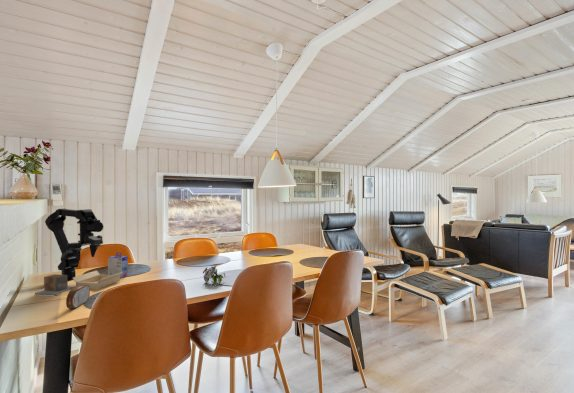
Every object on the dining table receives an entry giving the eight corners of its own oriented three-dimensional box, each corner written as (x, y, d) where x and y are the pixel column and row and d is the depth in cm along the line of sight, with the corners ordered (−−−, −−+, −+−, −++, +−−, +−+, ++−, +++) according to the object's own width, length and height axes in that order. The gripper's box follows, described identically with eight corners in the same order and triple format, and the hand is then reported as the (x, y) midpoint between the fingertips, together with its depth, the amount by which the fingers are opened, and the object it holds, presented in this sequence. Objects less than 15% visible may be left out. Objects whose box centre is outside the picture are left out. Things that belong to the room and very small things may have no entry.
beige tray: (72, 288, 170) (72, 277, 170) (96, 280, 185) (96, 270, 185) (101, 290, 166) (101, 279, 166) (123, 281, 182) (123, 271, 182)
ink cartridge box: (128, 276, 193) (128, 252, 193) (122, 278, 188) (121, 254, 188) (114, 275, 195) (113, 251, 195) (107, 278, 190) (107, 253, 190)
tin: (84, 299, 151) (84, 282, 151) (91, 299, 152) (91, 281, 152) (65, 311, 136) (64, 292, 136) (73, 311, 137) (72, 291, 137)
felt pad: (34, 294, 160) (34, 292, 160) (56, 287, 172) (56, 285, 172) (54, 295, 158) (54, 293, 158) (75, 288, 169) (75, 286, 169)
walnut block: (44, 290, 163) (43, 276, 163) (53, 287, 168) (52, 274, 168) (58, 291, 161) (58, 277, 161) (67, 288, 166) (67, 275, 166)
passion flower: (206, 293, 176) (198, 273, 180) (224, 286, 182) (216, 267, 186) (210, 286, 167) (202, 266, 172) (229, 279, 173) (220, 259, 178)
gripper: (82, 234, 172) (83, 263, 172) (110, 229, 190) (110, 256, 190) (66, 233, 175) (66, 261, 175) (94, 229, 193) (95, 255, 193)
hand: (86, 258), depth 183 cm, fingers open, 9 cm apart
